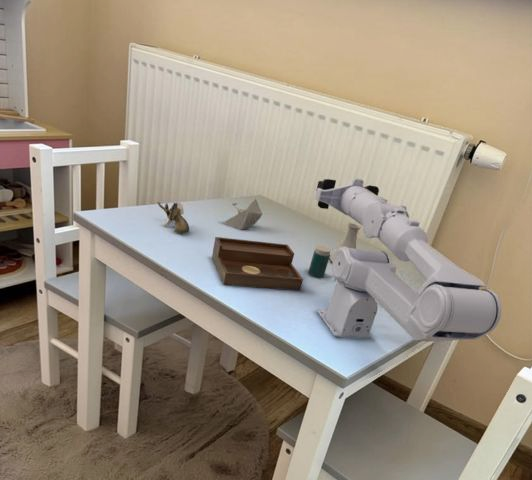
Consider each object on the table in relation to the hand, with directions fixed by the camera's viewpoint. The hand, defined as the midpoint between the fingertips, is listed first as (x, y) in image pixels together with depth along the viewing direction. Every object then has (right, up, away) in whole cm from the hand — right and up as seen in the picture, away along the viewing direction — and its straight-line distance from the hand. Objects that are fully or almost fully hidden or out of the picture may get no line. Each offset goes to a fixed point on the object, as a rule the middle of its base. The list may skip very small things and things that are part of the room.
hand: (335, 188), depth 107 cm
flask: (+5, -11, +25) cm, 28 cm away
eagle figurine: (-38, -3, +20) cm, 43 cm away
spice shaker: (-3, -16, +14) cm, 21 cm away
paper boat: (-21, 0, +33) cm, 39 cm away
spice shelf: (-17, -17, +6) cm, 25 cm away
